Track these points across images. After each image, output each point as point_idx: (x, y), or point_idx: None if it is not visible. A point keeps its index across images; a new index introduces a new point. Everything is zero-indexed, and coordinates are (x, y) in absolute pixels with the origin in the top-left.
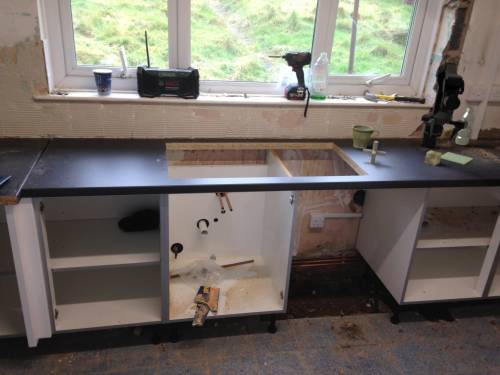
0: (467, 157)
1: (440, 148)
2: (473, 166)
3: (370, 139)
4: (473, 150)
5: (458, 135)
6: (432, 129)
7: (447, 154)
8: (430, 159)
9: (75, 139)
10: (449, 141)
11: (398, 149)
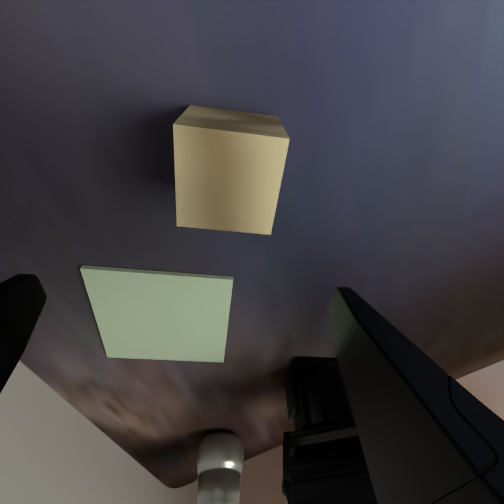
0: (131, 353)
1: (267, 380)
2: (37, 273)
3: None
4: (166, 419)
5: (233, 472)
6: (362, 436)
7: (213, 335)
8: (235, 118)
9: None
10: (28, 278)
11: (465, 255)
